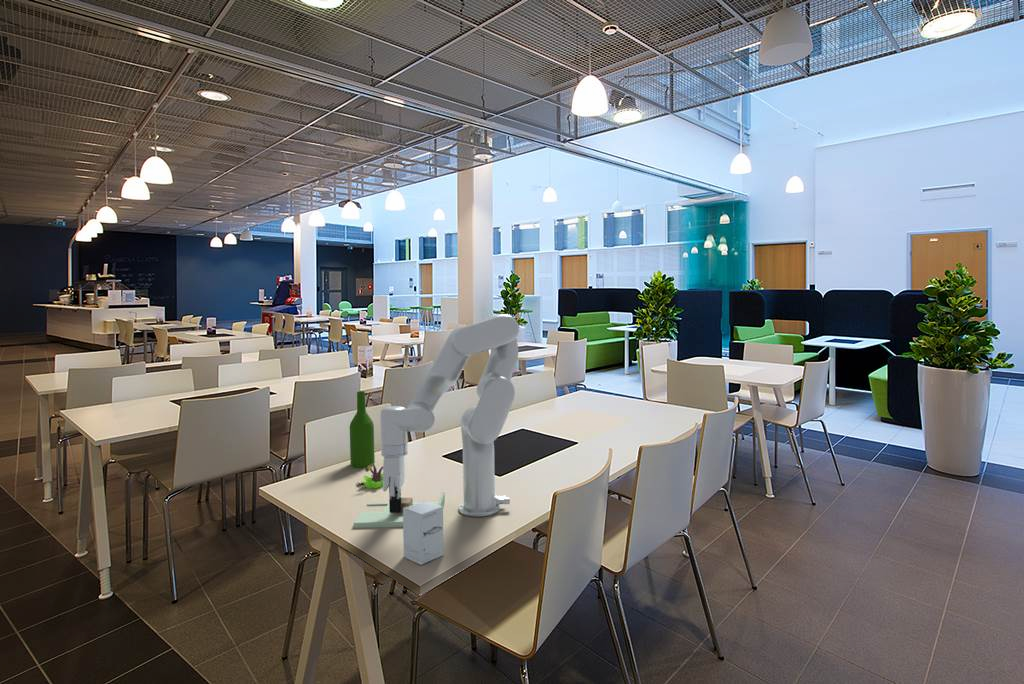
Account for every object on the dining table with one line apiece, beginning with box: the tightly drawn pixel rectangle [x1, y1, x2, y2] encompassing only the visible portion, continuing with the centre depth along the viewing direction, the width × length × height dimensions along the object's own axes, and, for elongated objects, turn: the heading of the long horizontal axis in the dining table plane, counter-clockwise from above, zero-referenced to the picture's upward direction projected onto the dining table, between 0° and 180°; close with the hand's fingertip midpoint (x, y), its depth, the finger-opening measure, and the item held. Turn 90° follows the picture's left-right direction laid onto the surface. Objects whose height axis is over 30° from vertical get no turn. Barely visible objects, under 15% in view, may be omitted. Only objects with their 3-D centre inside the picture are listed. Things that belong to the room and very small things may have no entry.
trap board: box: [353, 491, 446, 529], centre depth 157 cm, size 24×16×6 cm, turn 92°
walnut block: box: [400, 497, 414, 513], centre depth 158 cm, size 5×5×3 cm
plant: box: [355, 464, 383, 490], centre depth 182 cm, size 20×20×11 cm
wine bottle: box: [349, 390, 376, 469], centre depth 203 cm, size 9×9×32 cm
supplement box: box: [402, 500, 445, 566], centre depth 132 cm, size 7×7×13 cm
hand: (395, 511), depth 154 cm, fingers closed
